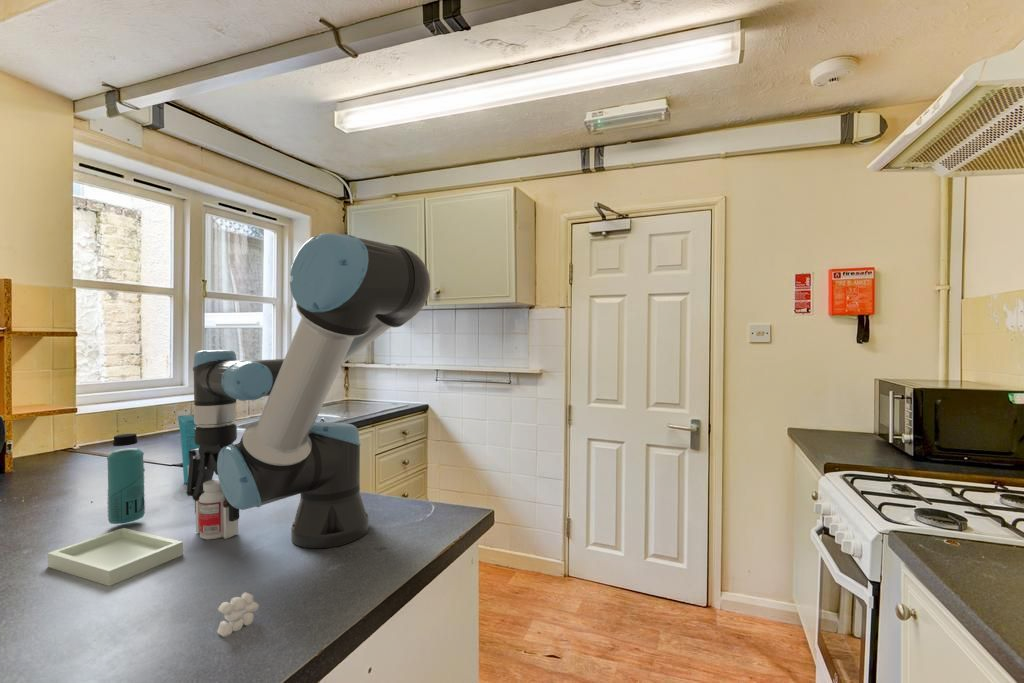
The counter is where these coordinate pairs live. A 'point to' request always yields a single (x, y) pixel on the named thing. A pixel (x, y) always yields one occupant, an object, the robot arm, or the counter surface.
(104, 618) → the counter surface
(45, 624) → the counter surface
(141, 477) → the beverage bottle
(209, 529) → the pill bottle
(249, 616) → the white bumpy cluster
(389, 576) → the counter surface
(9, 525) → the counter surface
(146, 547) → the tray
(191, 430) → the tube
